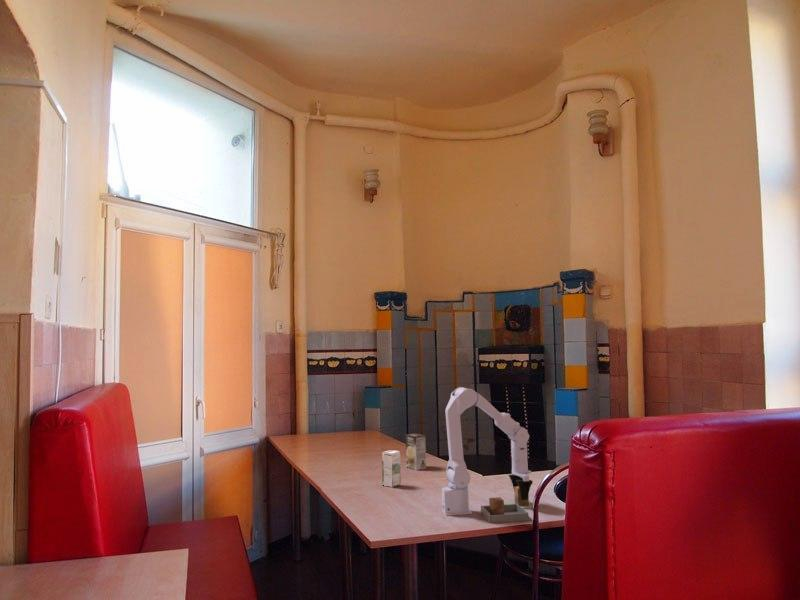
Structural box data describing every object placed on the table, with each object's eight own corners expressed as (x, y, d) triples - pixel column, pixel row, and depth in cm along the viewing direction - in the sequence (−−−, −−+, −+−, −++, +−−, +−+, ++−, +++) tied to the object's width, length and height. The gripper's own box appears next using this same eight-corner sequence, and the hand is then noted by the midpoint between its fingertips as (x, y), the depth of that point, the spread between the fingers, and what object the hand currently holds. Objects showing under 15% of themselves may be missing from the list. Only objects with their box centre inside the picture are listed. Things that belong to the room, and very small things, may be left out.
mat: (513, 510, 210) (513, 508, 210) (506, 503, 219) (506, 501, 219) (537, 508, 211) (537, 506, 211) (529, 502, 220) (529, 500, 220)
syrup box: (390, 483, 256) (389, 449, 257) (401, 485, 252) (400, 450, 253) (382, 486, 251) (381, 451, 252) (392, 487, 247) (391, 453, 249)
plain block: (492, 518, 199) (492, 500, 200) (489, 515, 203) (489, 497, 204) (504, 518, 200) (503, 500, 200) (501, 514, 204) (500, 497, 204)
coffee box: (405, 467, 288) (404, 434, 289) (416, 465, 291) (415, 433, 293) (416, 470, 280) (415, 436, 281) (427, 468, 284) (426, 435, 285)
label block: (518, 506, 212) (517, 488, 213) (515, 503, 216) (514, 486, 217) (529, 505, 213) (528, 488, 213) (525, 502, 217) (524, 485, 217)
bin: (490, 523, 195) (489, 515, 195) (481, 513, 207) (480, 505, 207) (528, 521, 196) (528, 513, 196) (517, 511, 208) (517, 503, 209)
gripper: (536, 462, 209) (538, 501, 208) (523, 455, 223) (525, 491, 222) (517, 463, 208) (519, 502, 207) (505, 456, 223) (507, 492, 222)
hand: (521, 497), depth 215 cm, fingers open, 7 cm apart
